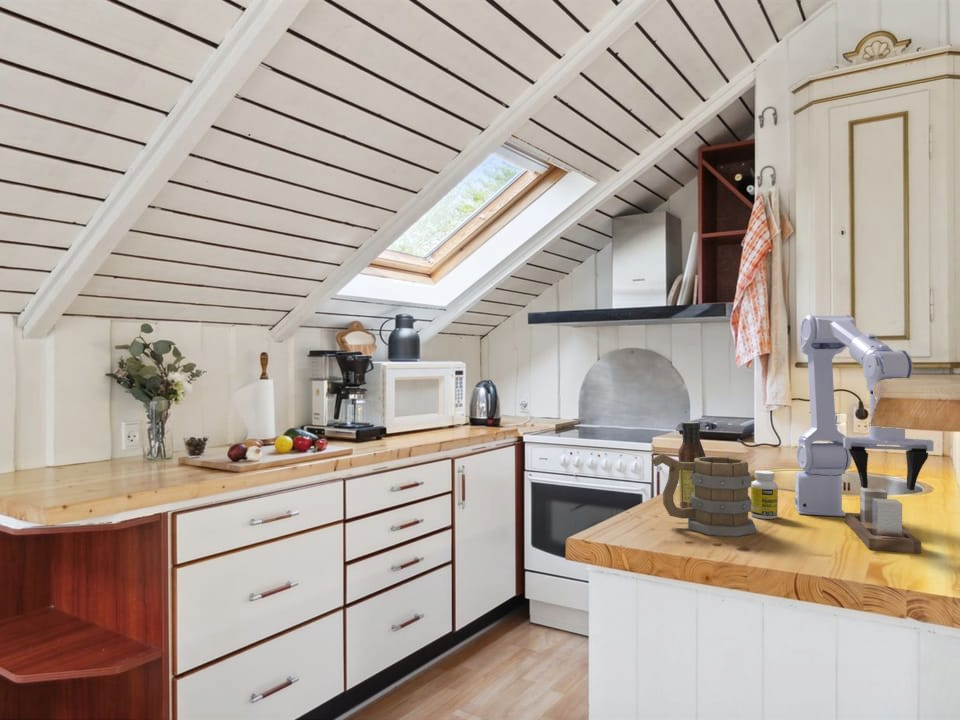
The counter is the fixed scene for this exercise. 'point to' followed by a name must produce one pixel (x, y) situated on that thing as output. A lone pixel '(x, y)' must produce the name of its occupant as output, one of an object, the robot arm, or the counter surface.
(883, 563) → the counter surface
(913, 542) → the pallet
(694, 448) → the sauce bottle
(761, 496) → the supplement bottle
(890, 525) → the block
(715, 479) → the tankard
